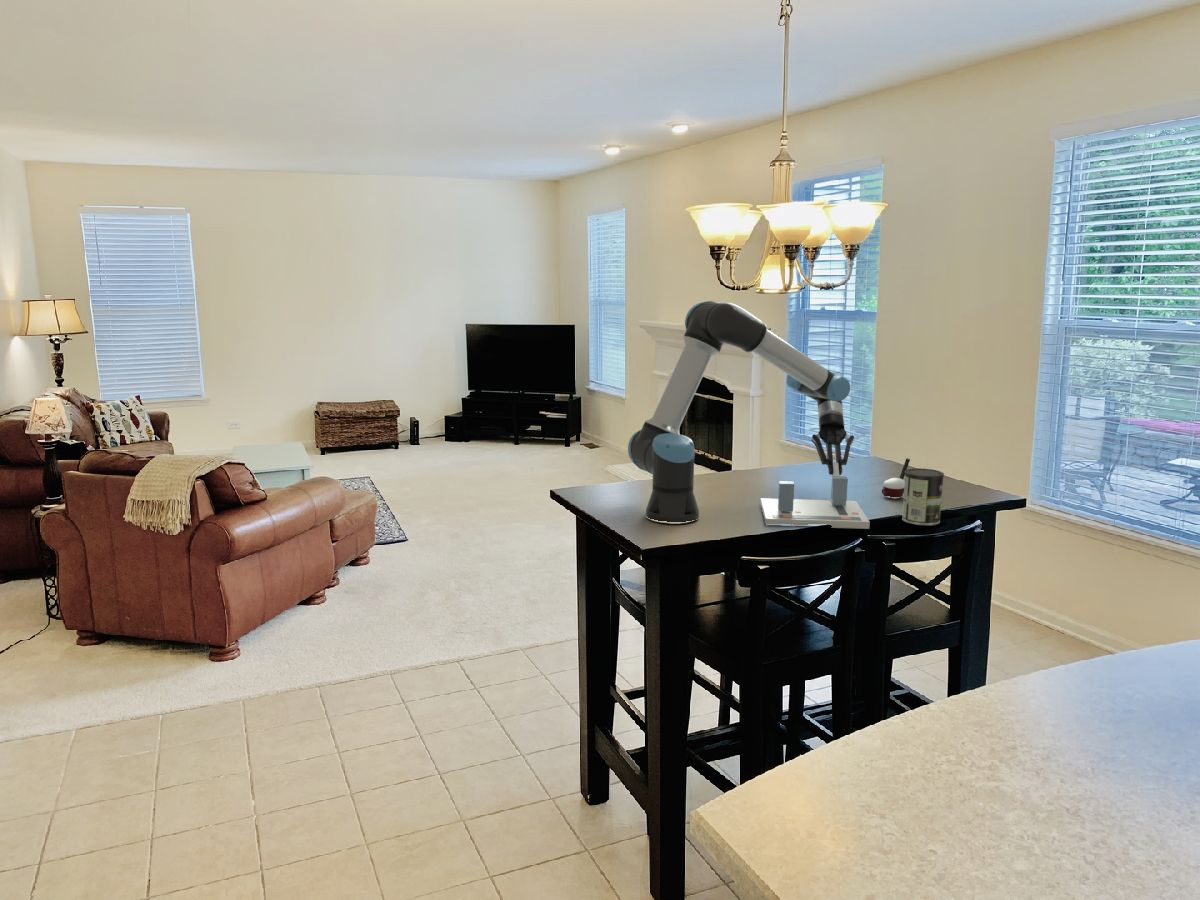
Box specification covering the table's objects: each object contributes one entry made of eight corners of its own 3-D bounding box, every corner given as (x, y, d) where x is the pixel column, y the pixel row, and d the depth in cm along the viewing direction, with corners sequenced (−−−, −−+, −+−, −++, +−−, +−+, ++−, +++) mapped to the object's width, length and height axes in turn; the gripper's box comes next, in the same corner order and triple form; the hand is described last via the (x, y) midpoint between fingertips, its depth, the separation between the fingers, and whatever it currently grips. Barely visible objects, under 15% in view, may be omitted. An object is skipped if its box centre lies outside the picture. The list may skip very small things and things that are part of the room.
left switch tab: (778, 510, 247) (779, 483, 245) (777, 508, 250) (778, 481, 248) (792, 511, 246) (794, 484, 245) (791, 508, 249) (793, 481, 247)
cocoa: (883, 501, 268) (884, 463, 265) (876, 495, 274) (877, 458, 271) (913, 500, 268) (915, 462, 265) (906, 494, 274) (908, 457, 271)
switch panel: (765, 525, 241) (765, 518, 241) (760, 504, 263) (760, 497, 262) (869, 528, 238) (869, 521, 238) (855, 507, 260) (855, 500, 259)
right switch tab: (832, 505, 253) (833, 478, 251) (830, 502, 256) (832, 476, 254) (846, 505, 252) (847, 478, 251) (844, 502, 255) (846, 476, 253)
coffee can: (936, 516, 250) (940, 468, 247) (943, 526, 240) (947, 477, 237) (899, 514, 252) (902, 467, 249) (904, 524, 242) (907, 475, 239)
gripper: (850, 425, 275) (856, 490, 262) (808, 425, 276) (812, 489, 263) (854, 412, 268) (861, 477, 256) (811, 411, 270) (815, 476, 257)
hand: (836, 483), depth 260 cm, fingers closed
